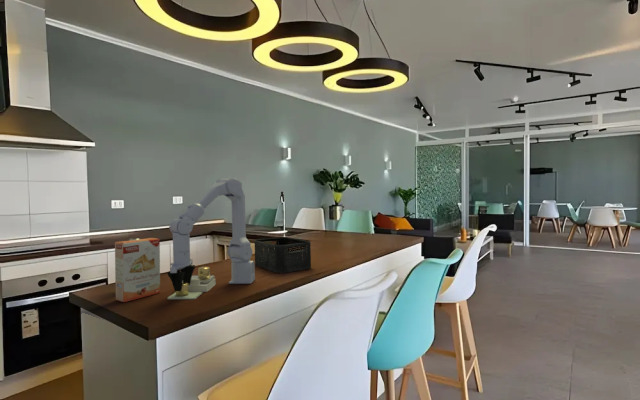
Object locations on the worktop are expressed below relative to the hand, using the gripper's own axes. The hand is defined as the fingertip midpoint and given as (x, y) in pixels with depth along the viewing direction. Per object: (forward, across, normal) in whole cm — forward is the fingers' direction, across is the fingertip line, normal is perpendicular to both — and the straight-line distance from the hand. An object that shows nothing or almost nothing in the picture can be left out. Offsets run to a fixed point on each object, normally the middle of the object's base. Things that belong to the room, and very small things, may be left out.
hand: (182, 288), depth 129 cm
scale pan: (+1, -12, +1) cm, 12 cm away
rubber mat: (+3, 0, +1) cm, 3 cm away
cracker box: (+3, +1, -16) cm, 16 cm away
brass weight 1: (+2, 0, 0) cm, 3 cm away
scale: (+3, -10, +1) cm, 11 cm away
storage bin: (+4, -50, +30) cm, 58 cm away
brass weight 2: (-1, -12, +4) cm, 12 cm away
